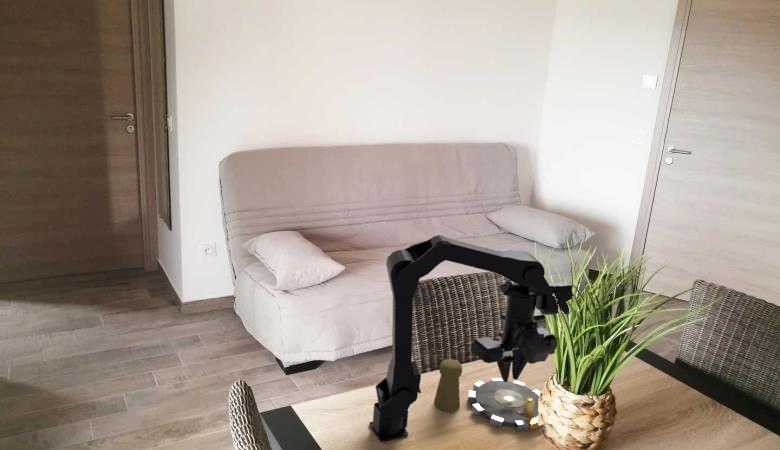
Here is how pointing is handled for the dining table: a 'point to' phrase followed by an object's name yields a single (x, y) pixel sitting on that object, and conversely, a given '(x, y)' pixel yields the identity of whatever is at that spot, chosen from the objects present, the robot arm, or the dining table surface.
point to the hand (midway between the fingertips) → (509, 380)
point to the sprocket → (506, 403)
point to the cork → (448, 386)
